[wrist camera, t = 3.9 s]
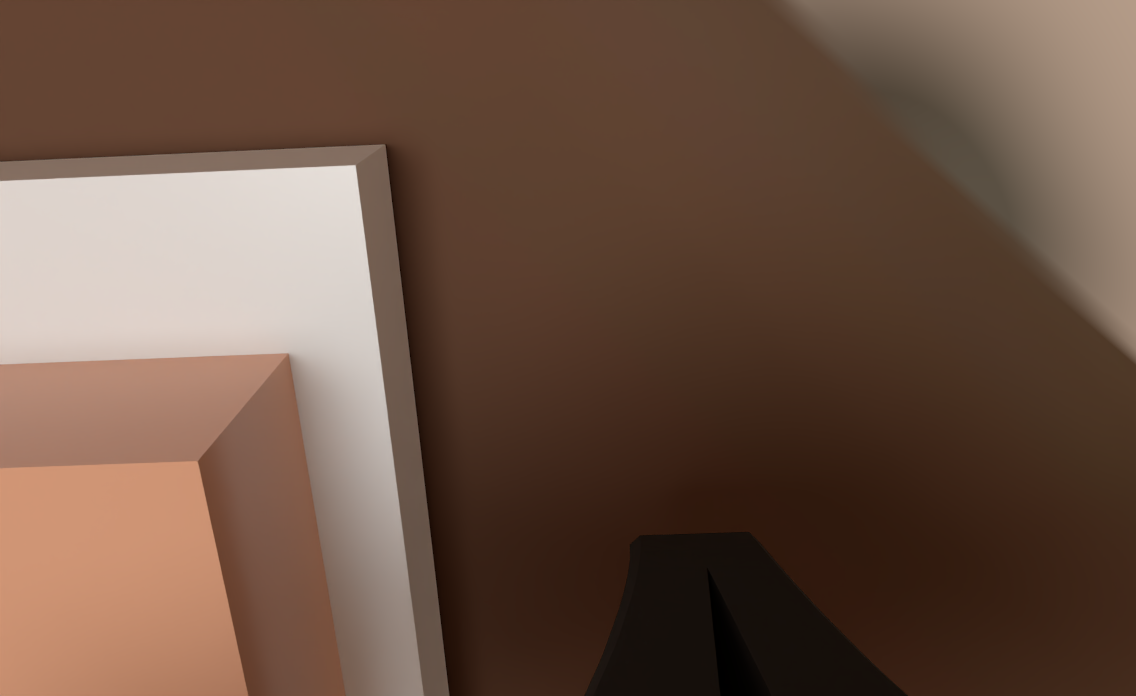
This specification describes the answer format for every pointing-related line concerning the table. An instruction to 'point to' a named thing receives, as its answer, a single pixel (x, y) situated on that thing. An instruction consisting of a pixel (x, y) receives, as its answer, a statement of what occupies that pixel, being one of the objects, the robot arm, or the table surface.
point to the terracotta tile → (159, 532)
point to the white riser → (255, 340)
